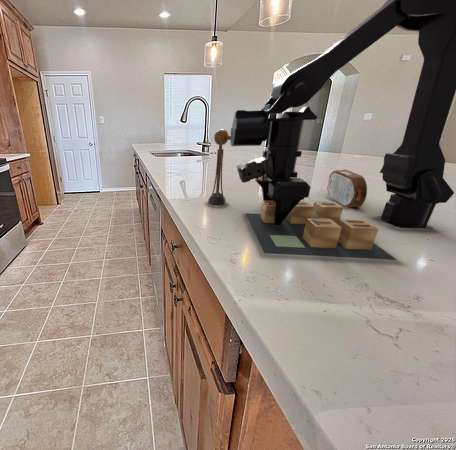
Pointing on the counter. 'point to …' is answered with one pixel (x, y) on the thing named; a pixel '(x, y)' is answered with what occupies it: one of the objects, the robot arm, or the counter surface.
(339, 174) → the tin
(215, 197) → the wooden tabletop sculpture
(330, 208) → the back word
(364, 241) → the front word
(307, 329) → the counter surface
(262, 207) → the s tile
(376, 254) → the letter mat
